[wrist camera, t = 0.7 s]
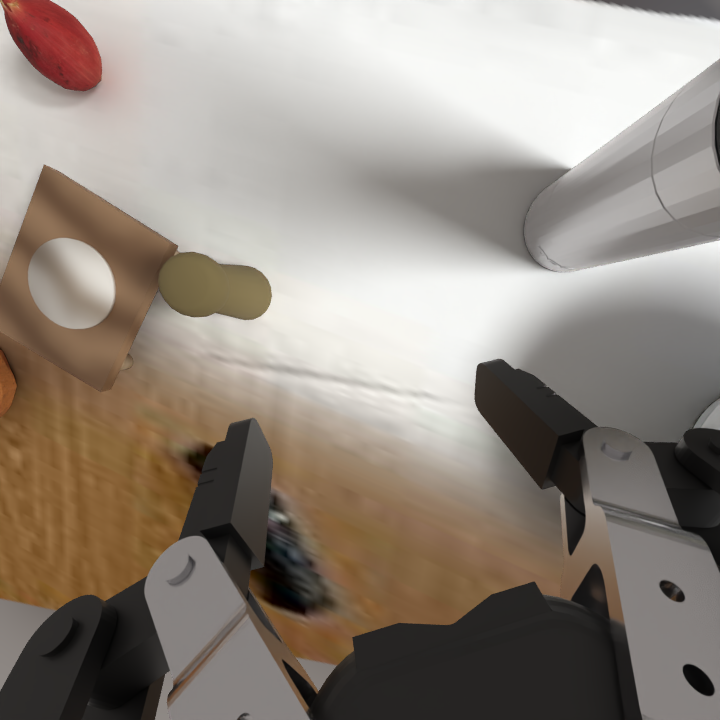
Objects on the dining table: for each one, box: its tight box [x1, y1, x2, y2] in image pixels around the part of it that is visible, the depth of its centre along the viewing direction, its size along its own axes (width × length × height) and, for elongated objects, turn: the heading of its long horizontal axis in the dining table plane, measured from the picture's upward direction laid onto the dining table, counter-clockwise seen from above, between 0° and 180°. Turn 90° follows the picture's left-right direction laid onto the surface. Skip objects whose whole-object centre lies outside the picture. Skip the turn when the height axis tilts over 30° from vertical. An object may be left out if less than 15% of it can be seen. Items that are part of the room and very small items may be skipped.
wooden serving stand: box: [0, 165, 179, 392], centre depth 31 cm, size 18×14×5 cm
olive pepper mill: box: [158, 252, 272, 320], centre depth 27 cm, size 6×6×11 cm
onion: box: [0, 0, 102, 91], centre depth 26 cm, size 6×6×8 cm
